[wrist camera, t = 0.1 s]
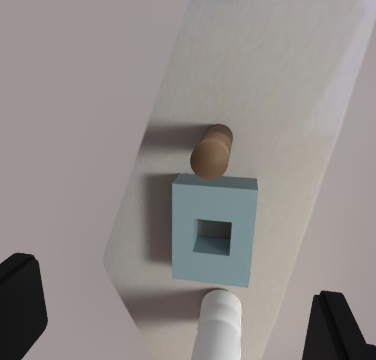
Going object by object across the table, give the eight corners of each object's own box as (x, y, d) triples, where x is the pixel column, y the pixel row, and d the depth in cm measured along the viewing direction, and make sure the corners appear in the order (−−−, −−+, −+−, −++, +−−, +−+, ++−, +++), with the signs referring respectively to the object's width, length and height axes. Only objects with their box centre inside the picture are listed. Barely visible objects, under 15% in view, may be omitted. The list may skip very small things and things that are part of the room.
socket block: (179, 173, 47) (172, 183, 43) (256, 178, 46) (258, 190, 41) (178, 260, 53) (172, 278, 48) (247, 268, 51) (248, 287, 46)
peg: (206, 123, 44) (190, 141, 31) (233, 124, 44) (229, 143, 31) (205, 150, 46) (189, 178, 32) (231, 151, 45) (226, 181, 32)
